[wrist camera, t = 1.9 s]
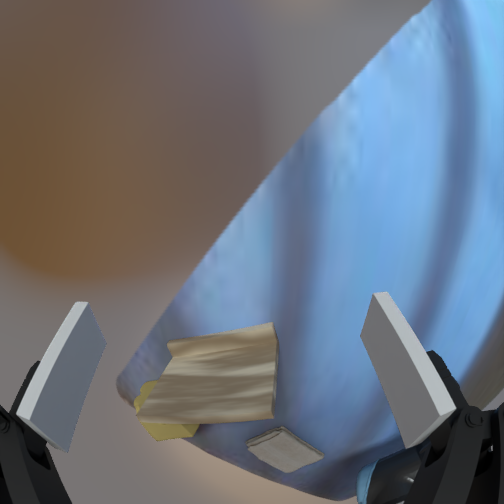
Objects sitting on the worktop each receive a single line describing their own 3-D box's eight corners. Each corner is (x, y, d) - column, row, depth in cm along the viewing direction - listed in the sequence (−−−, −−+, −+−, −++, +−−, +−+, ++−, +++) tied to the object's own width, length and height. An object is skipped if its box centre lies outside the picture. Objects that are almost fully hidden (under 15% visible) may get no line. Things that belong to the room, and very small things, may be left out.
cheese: (145, 381, 53) (125, 409, 43) (182, 371, 51) (164, 403, 41) (171, 413, 55) (156, 442, 45) (208, 406, 52) (196, 439, 43)
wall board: (293, 391, 49) (292, 464, 31) (200, 402, 52) (175, 465, 35) (272, 321, 46) (264, 393, 28) (169, 340, 49) (126, 400, 32)
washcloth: (280, 422, 52) (279, 432, 49) (326, 451, 54) (327, 460, 51) (242, 439, 55) (240, 449, 52) (289, 467, 56) (289, 476, 54)
